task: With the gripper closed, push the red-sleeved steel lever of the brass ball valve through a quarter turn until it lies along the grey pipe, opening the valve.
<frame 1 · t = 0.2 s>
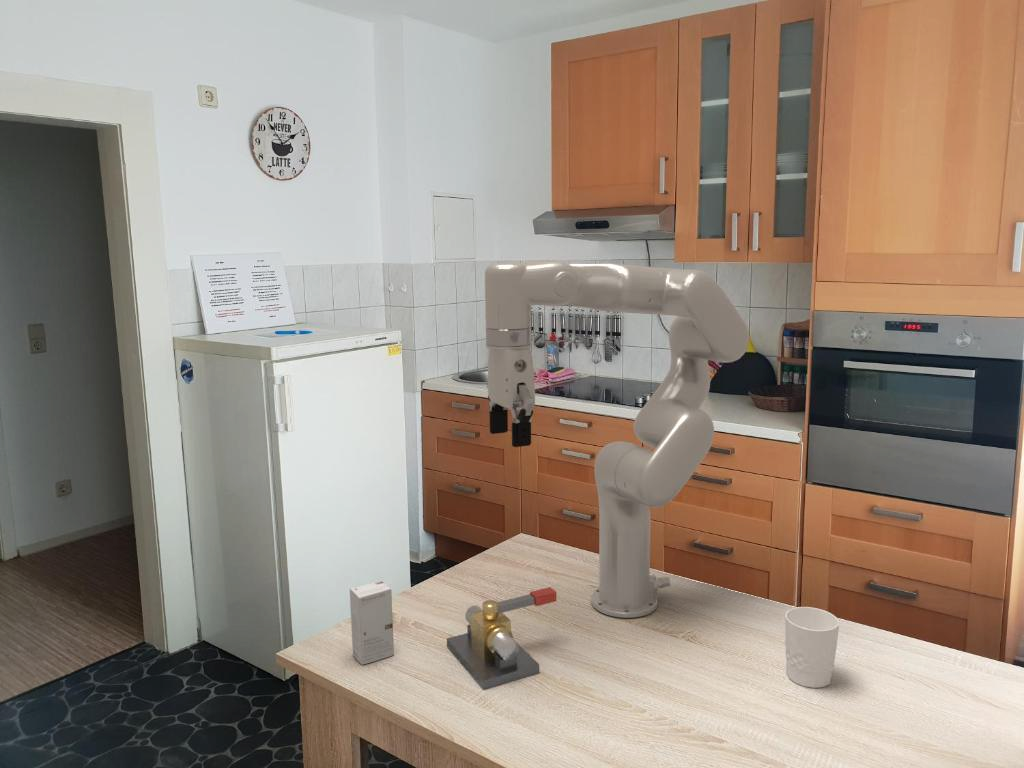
hand: (509, 439, 132), 36 cm above the table, tool pointing down, fingers open, 9 cm apart
skincare box: (373, 656, 134), on the table
valve manifold: (491, 659, 131), on the table
white cup: (808, 677, 125), on the table
valve lever: (519, 602, 132), point 9 cm above the table, hinge at 0.0°
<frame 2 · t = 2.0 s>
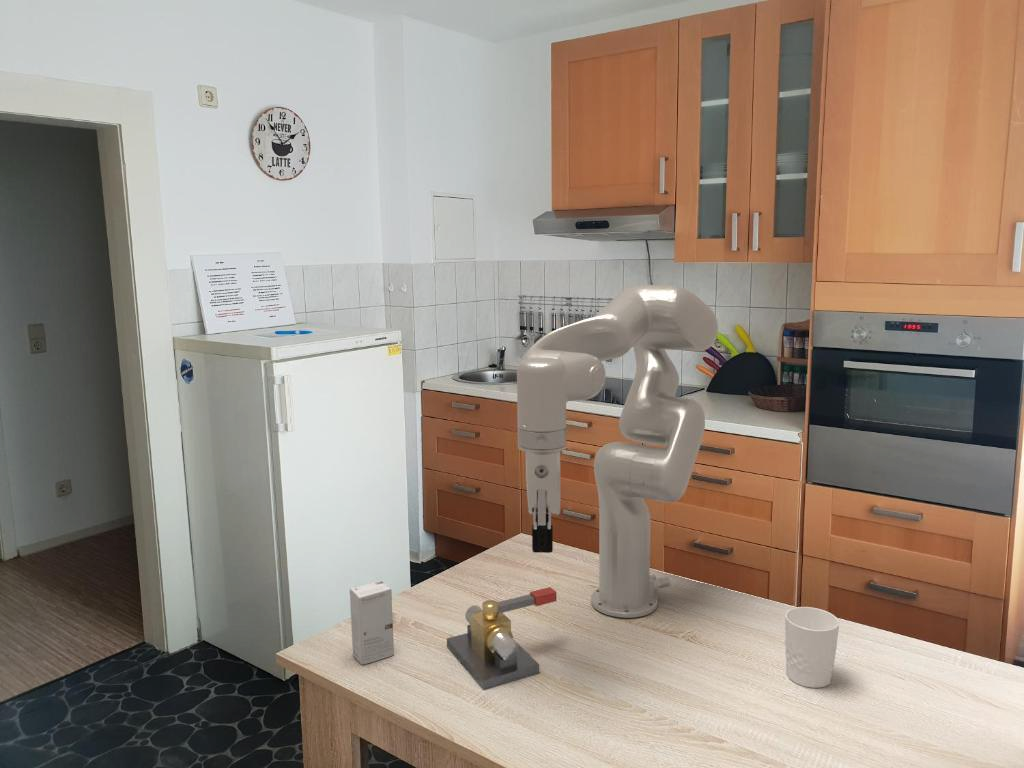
hand: (542, 550, 124), 21 cm above the table, tool pointing down, fingers closed
nothing on the table moved.
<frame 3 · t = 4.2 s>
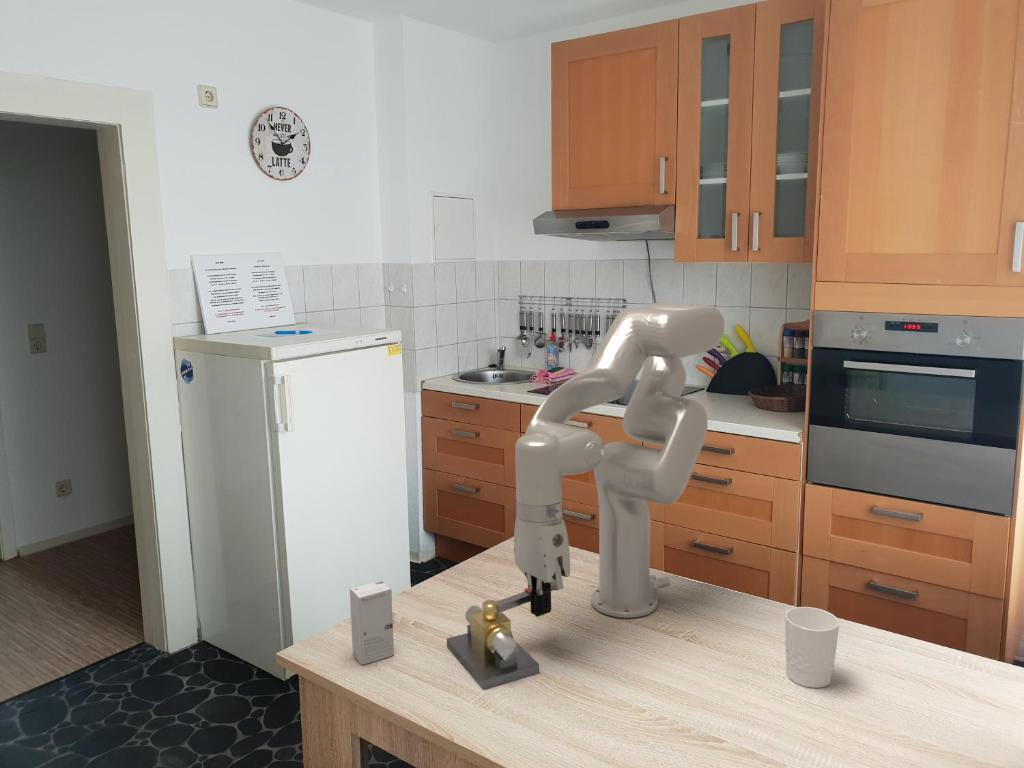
hand: (541, 612, 132), 7 cm above the table, tool pointing down, fingers closed
valve lever: (516, 600, 133), point 9 cm above the table, hinge at 10.0°, touching gripper
everything else where it was.
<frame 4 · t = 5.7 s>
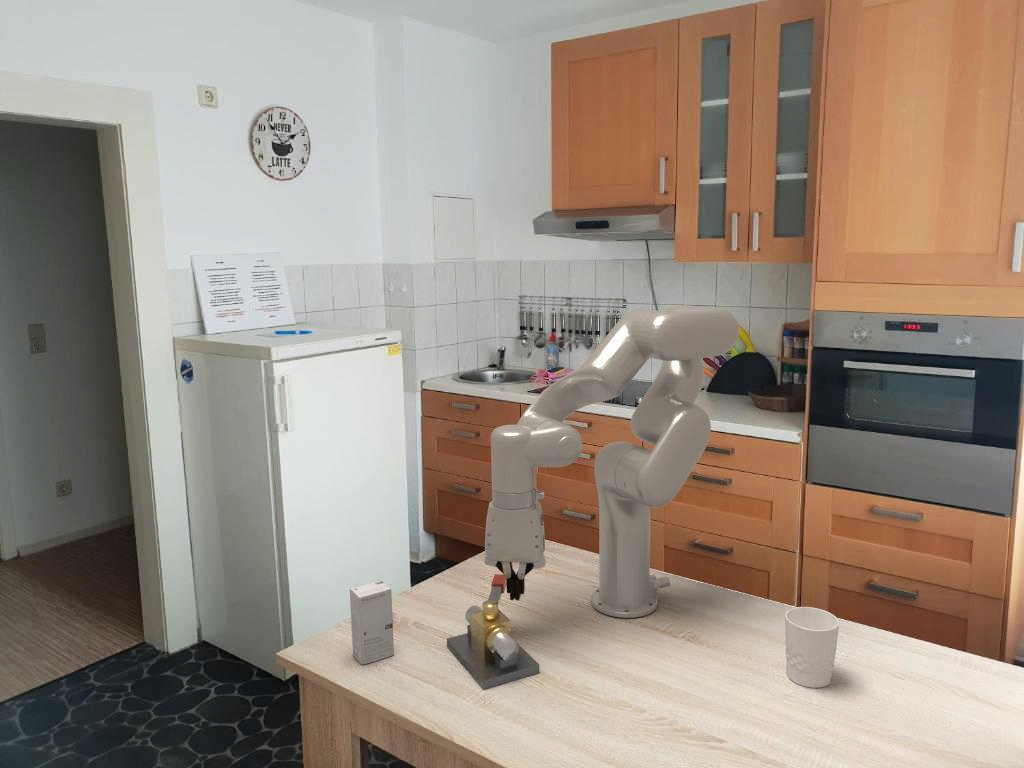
hand: (515, 596, 138), 7 cm above the table, tool pointing down, fingers closed
valve lever: (495, 595, 135), point 9 cm above the table, hinge at 55.6°, touching gripper
everything else where it was.
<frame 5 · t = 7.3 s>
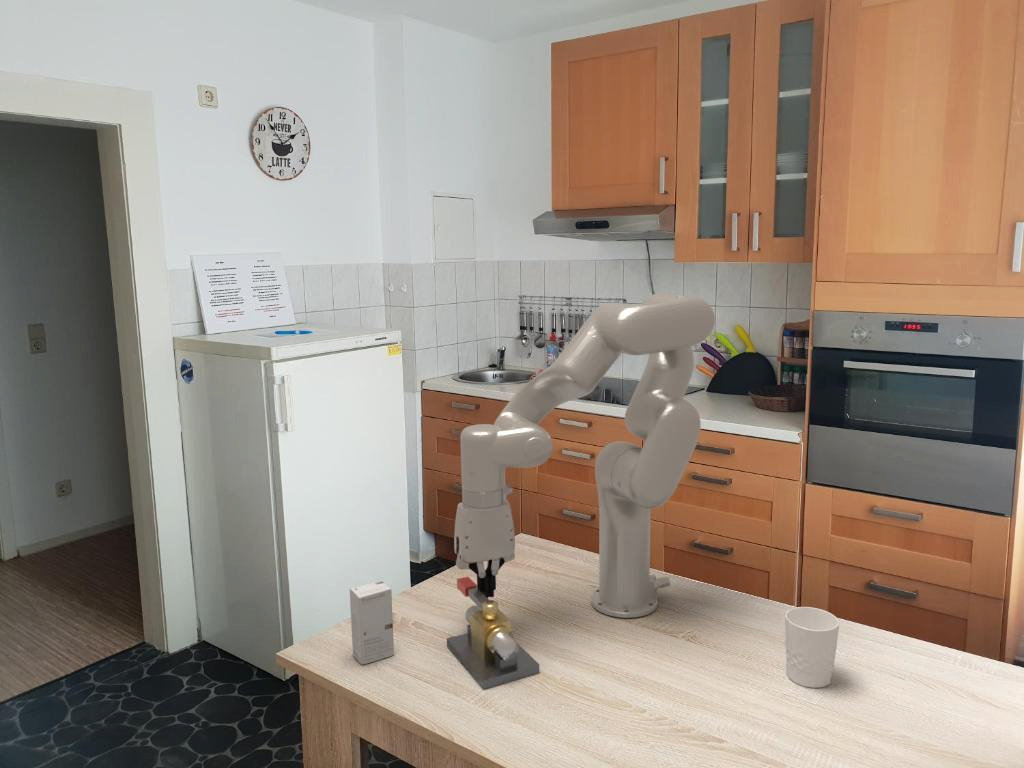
hand: (486, 594, 139), 7 cm above the table, tool pointing down, fingers closed
valve lever: (477, 596, 135), point 9 cm above the table, hinge at 89.1°, touching gripper
everything else where it was.
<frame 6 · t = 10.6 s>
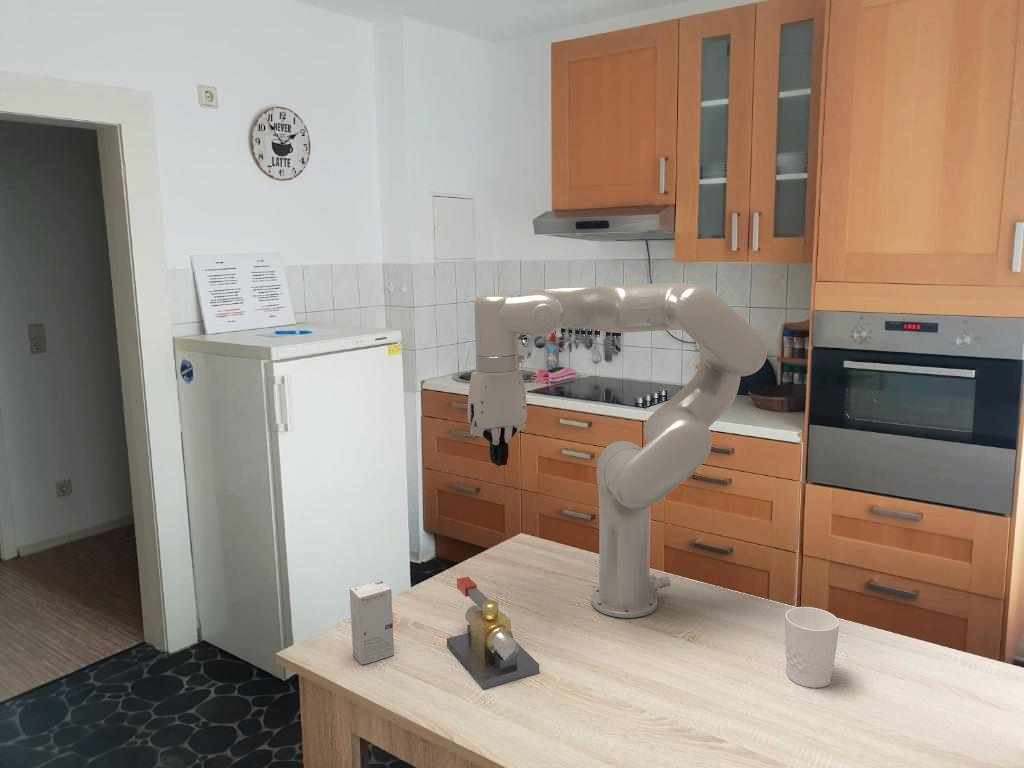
hand: (499, 463, 142), 29 cm above the table, tool pointing down, fingers closed
valve lever: (477, 596, 135), point 9 cm above the table, hinge at 89.1°
everything else where it was.
at the end: valve lever at +89° (first picture: +0°) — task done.
